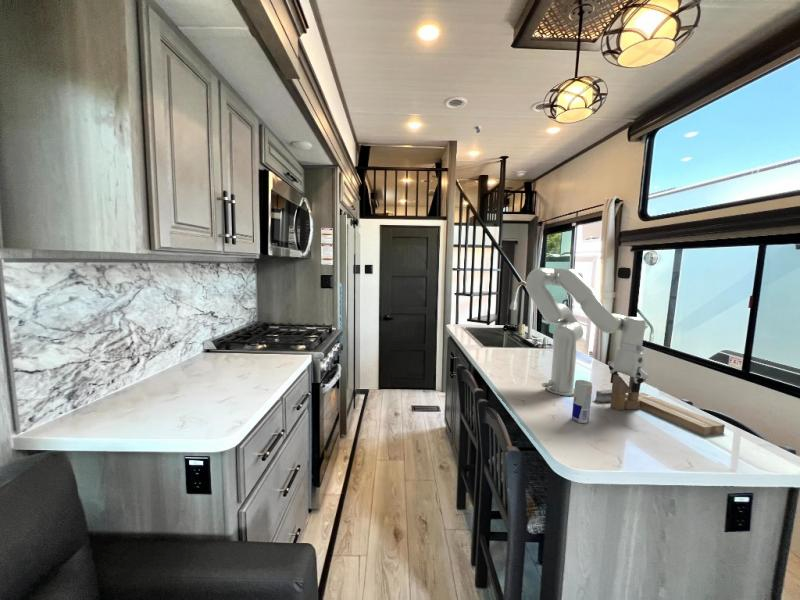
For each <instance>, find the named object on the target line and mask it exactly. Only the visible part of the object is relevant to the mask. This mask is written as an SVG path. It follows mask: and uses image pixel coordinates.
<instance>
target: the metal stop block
mask: <svg viewBox="0 0 800 600" xmlns="http://www.w3.org/2000/svg"><path fill="white" fill-rule="evenodd" d="M612 391H613V390H612V389H606V390H605V389H603V390H596V392H595V396H596V397H595V400H596V401H598V402H599V403H611V395H612Z"/></svg>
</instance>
